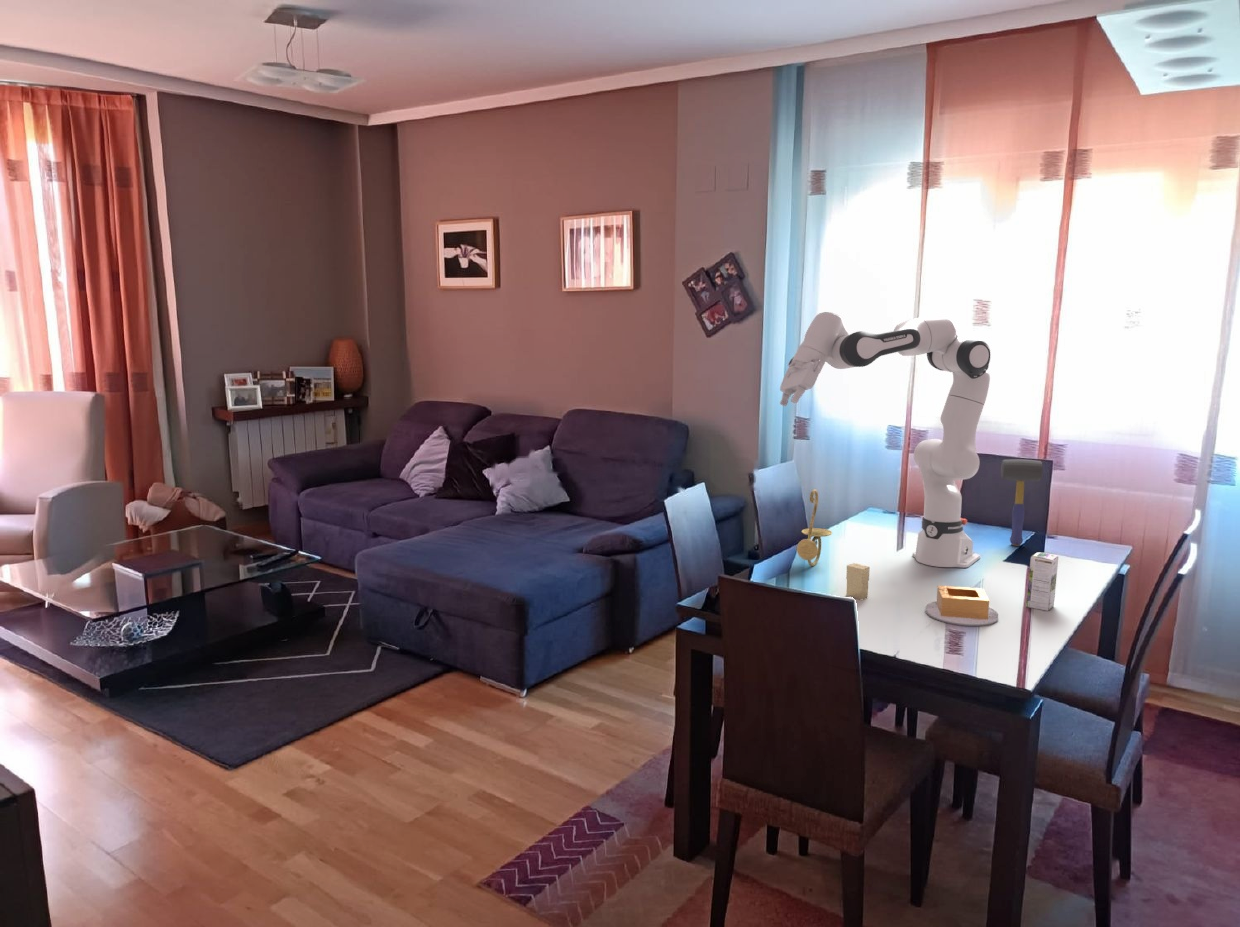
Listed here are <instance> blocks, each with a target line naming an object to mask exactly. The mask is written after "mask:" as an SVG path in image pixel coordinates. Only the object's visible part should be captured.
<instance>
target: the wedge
mask: <svg viewBox="0 0 1240 927" xmlns="http://www.w3.org/2000/svg"><path fill="white" fill-rule="evenodd" d="M845 579H846V593H845V594H846V595H845V596H846V597H848V596H851V597H850V598H852V597H855V598H857V599H856V600H860V599H863V600H866V599H868V598H867V597H869V596H868V594H869V581H870V566H867V565H864V564H859V563H855V562H853V563H851V564H848V565H846V578H845ZM855 598H854V599H855ZM865 598H866V599H865ZM860 601H861V600H860Z"/></svg>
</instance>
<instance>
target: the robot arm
mask: <svg viewBox="0 0 1240 927" xmlns="http://www.w3.org/2000/svg"><path fill="white" fill-rule="evenodd" d="M843 319H844V318H843V317H842V316H840V315H839V314H837V313H833V312H828V311H824V312H820V313H817V315H816V316H815V317H814V318H813V319H812V321H811V323H810V325H808V328H807V330H806V332H805V335H804V338H803V341H802V343H801V344H800V345H799V346H798V347H797V350H796V352H795V354H794V356H793V357H792V358H791V359H790V360H789V362H788V364H787V367H788V369H786V371H785V374H784V377H783V378H782V381H781V383H780V388H779V391H780V392H782V396H781V400H780V402H779V405H780V406H783V407H786V406H787V405H788V403H789V400H790V402H792V403H793V404H797V403H798V402H799V401H800V398H801V397H802V396H803V394H804V393H805V392H806V391H808V390H811V389H812V388H813V387H814V386H815V384H816V382H817V380H818V377H819V374H821V372H822V370H823V367H824V366H825V364H826V363H827V364H828V365H830V366H831V367H833V368H835V369H839V370H844V369H850V368H860V367H861V368H863V367H866V366H869V365H870V364H872V363H874V361H876V360H877V359H879V357H882V356H886V355H891V354H896V353H898V354H899V355H901V356H905V357H906V356H907V357H909V356H910V357H911V356H919V355H920V356H921V355H924V354H926V357H927V362H928V363H929V365H930V366H932V367H933V368H935V369H936V370H939V371H942V372H943V371H945V372H948V373H952V375H953V376H952V377H953V380H952V381H953V382H952V385H951V387H950V389H949V392H948V394H947V397H946V401H945V403H944V406H943V409H942V412H941V415H940V423H941V425H942V427H943V434H942V435H943V436H942V439H939V438H931V439H930V438H929V439H925V440H922V441H920V442H919V443H918V444H917V445H916V446H915V447H914V451H913V460H914V463H915V464H916V465H917V467H918V469H919V472H920V476H921V481H922V486H923V494H924V499H923V500H924V502H923V503H924V504H923V505H924V506H923V507H924V508H923V516H922V519H921V529H922V530H920V531H919V532H918V534H917V541H916V548H915V551H914V552H912V554H911V555H912V557H913V558H915V561H917V562H918V563H919V564H923V565H926V566H932V567H939V568H962V569H963V568H964V569H965V568H969V567H970V566H971V565H973V564H974V563H975V562H977V561H978V560H980V559H981V555H980V554H979V553H976V552H973V551H974V550H973V549H974V544H973V543H974V542H973V539H971V538H970V537H969V536H968V535H967V534H966V532H965V531H964V527H963V526H966V525H967V523H968V519H966V518H962V517H961V516H962V515H961V514H962V499H963V497H962V493H961V492H960V489H959V488H958V486H957V483H956V481H957V480H969V479H971V478H973V477H974V476H975V475H976V474H977V473H978V471H979V468H980V462H981V461H980V457H979V455H978V453H977V450H976V433H977V428H978V424H979V421H980V419H981V418H980V417H981V415H982V412H983V409H984V406H985V403H986V400H987V397H988V393H989V387H990V380H991V377H990V373H989V371H987V370H989V366H990V362H991V349H990V346H989V345H988V343H986V342H985V341H983V340H982V339H979V338H976V337H968V336H967V337H966V336H958V335H957V327H956V325H955V323H954V321H953V320H952V319H951V318H950V317H948V316H945V315H929V316H921V317H917V318H912V319H909V320H906V321H903V322H901V323H899V324H897V325H896V326H895V327H894V330H892V331H888V332H883V333H878V334H877V333H870V332H868V331H862V330H861V331H854V332H852V333H849V331H848V330H847V328H846V326H845V323H844V320H843ZM790 397H791V399H790Z"/></svg>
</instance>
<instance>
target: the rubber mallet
mask: <svg viewBox="0 0 1240 927" xmlns="http://www.w3.org/2000/svg"><path fill="white" fill-rule="evenodd" d="M1043 471H1044V470H1043V462H1042V461H1041V460H1036V459H1034V460H1033V459H1024V458H1023V459H1022V458H1019V459H1015V458H1013V459H1011V458H1010V459H1003V460H1001V466H1000V475H1001V476H1000V477H1001V479H1002V480H1007V481H1016V487H1015V497H1014V498H1015V500H1014V504H1013V508H1012V513H1011V514H1012V515H1011V523H1012V524H1011V534H1010V537H1009V542H1010V544H1011V545H1012V546H1015V547H1018V546H1021V545H1022V544H1023V541H1024V539H1023V527H1024V526H1023V525H1024V520H1025V505H1024V495H1025V493H1024V492H1025V482H1040V481H1041V480H1042V478H1043V474H1044V473H1043Z"/></svg>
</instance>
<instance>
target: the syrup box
mask: <svg viewBox="0 0 1240 927" xmlns="http://www.w3.org/2000/svg"><path fill="white" fill-rule="evenodd" d="M1059 558H1060V556H1059V555H1057V554H1052V553H1047V552H1040V551H1039V552H1036V553H1034V554H1032V555H1031V556H1030V562H1029V571H1028V572H1029V575H1028V582H1027V583H1028V584H1027V592H1026V593H1027V594H1026V595H1027V596H1026V604H1025V605H1026V608H1030V609H1034V610H1035V609H1036V610H1040V611H1047V612H1048V611H1050V610H1051V609H1052V608H1053V607H1054V606H1055V596H1056V595H1055V594H1056V587H1057V578H1058V577H1057V575H1058V567H1059V565H1058V564H1059Z"/></svg>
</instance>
